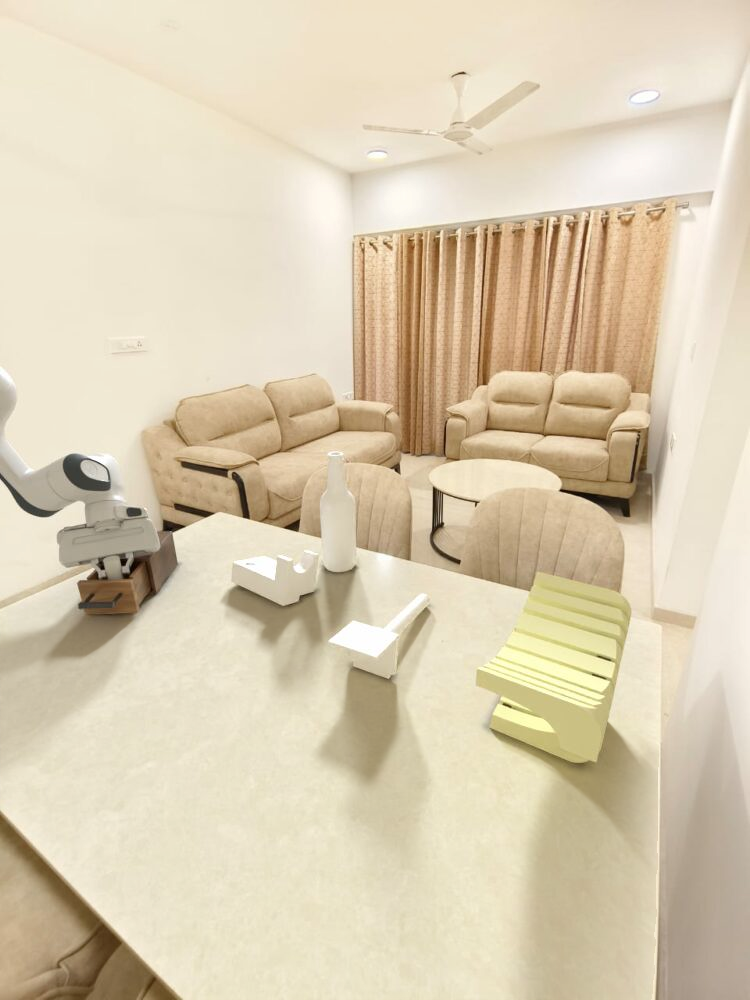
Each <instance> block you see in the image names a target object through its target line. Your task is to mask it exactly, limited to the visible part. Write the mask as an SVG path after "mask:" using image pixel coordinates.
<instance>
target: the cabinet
mask: <svg viewBox="0 0 750 1000" xmlns="http://www.w3.org/2000/svg"><path fill="white" fill-rule="evenodd" d="M157 534H158V538H159V542H160V548H159V550H158V551H156V552H151V553H145V554H140V555H135V556H134V561H147V565H148V570H149V575H150V579H151V584H152V588H151V590H150V591H149V592H148V594H147V595H157V594H158V593H159V592H160V590H161V589H162V587H163V586H164V585H165V583H166V582H167V580H168V579H169V578H170V576H172V573H173V572H174V571H175V569H176V568H177V566H178V565H179V562H178V556H177V550H176V544H175V540H174V535H173V530H166V531H165V530H163V531H162V530H161V531H157ZM102 562H103V561H102ZM102 562H100V564H101V563H102ZM120 562H127V559H126V557H124V558H120Z"/></svg>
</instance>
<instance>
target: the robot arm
mask: <svg viewBox="0 0 750 1000" xmlns="http://www.w3.org/2000/svg"><path fill="white" fill-rule="evenodd" d="M17 402H18V389H17V386H16V384H15V382H14V380H13V379H12V377H11V376H10V375H9V373H8V372H7V371H6V370H5V369H4V368H3V367H2V366H1V365H0V481H1V482H2V484H4V486H5V487H6V488H7V489H8V491H9V492H10V494H11V496H12V498H13V499H14V501H15V503H16V504H17V505H18V506H19V508H20V509H21V510H22V511H24V512H25V513H27V514H28V515H31V516H34V517H38V518H49V517H52V516H54V515H56V514H57V513H59V512H60V511H62V510H64V509H65V508H67V507H69V506H71V505H73V504H75V503H77V502H78V501H79V502H82V503H84V517H85V523H81V524H76V525H69V526H63V528H61V529H60V530H59V531H58V532H57V533H56V543H57V545H58V546H59V547H58V561H59V563H60V565H62V566H63V567H65V568H66V569H68V568H75V567H79V566H80V567H81V566H85V565H91V567H92V568H93V569H94V570H96V571H97V572H98V575H99V580H106V579H107V575H106V571H105V570H101V569H100V568H99V567H98V566H100V562H102V561H103V560H104V559H105V558H106V557H109V556H114V555H116V556H119V558H124V557H126V559H127V563H126V565H125V566H122V574H123V576H125V575H130V567H131V565H132V563H133V561H134V556H135V555H140V554H145V553H151V552H156V551H158V550H159V548H160V542H159V538H158V534H157V532H158V531H157V529H156V526H155V524H154V522H153V521H152V519H151V516H150V512H149V511H148V510H147V508H146V507H141V506H140V507H139V506H132V505H131V506H130V505H128V503H127V501H126V500H125V499H126V498H125V493H126V486H125V479H124V476H123V473H122V470H121V467H120V465H119V463H118V461H117V459H116V458H114V456H111V455H110V454H107V453H99V452H98V453H97V452H96V453H91V454H88V455H85V454H81V453H76V452H75V453H74V452H73V453H70V454H67V455H65V456H62V457H60V458H58V459H56V460H54V461H52V462H51V463H50V464H49V463H48V465H45V466H43V467H42V468H40V469H38V470H37V469H36V470H35V469H32V468H31V467H29V466H28V464H27V463H26V462H25V461H24V460H23V459H22V457H21V456H20V454H19V453H18V452H17V451H16V449H15V448H14V447H13V446H12V445H11V444H10V442H9V440H8V438H7V437H6V433H5V428H6V424H7V422H8V421H9V419H10V417H11V415H12V414H13V412H14V410H15V408H16V406H17Z"/></svg>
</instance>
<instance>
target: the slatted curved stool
mask: <svg viewBox="0 0 750 1000" xmlns="http://www.w3.org/2000/svg"><path fill="white" fill-rule="evenodd" d="M631 617H632V607H631V605H630V602H629V601H628V599H627V598H626V597H625V596H624V595H622V594H621V593H620V592H618V591H616V590H613V589H609V588H606V587H601V586H599V585H594V584H590V583H585V582H581V581H577V580H573V579H570V578H565V577H562V576H557V575H553V574H549V573H545V572H541V571H537V572H536V574H535V577H534V580H533V585H531V588H530V591H529V593H528V598H527V599H526V600H525V604H524V605H523V608H522V611H521V613H520V615H519V617H518V620H517V621H516V623H515V626H514V630H512V631H511V634H509V637H508V639H507V640H506V642H505V644H504V645H503V646H502V647H501V649H500V650H499V651H498V653H496V655H495V657H493V658H492V659H491V660H489V662H486V663H485V664H483V666H479V667H477V668H476V674H475V686H476V687H479V688H482V689H484V690H487V691H489V692H492V693H494V694H496V695H499V696H501V697H500V699H499V703H497V705H496V706H495V708H494V710H493V712H492V715H491V719H490V723H489V727H488V728H490V729H492V730H494V731H496V732H498V733H501V734H503V735H506V736H509V737H511V738H513V739H515V740H517V741H519V742H523V743H525V744H527V745H530V746H531V747H534V748H537V749H539V750H542V751H544V752H546V753H548V754H551V755H553V756H556V757H558V758H560V759H563V760H565V761H567V762H570V763H574V764H581V763H582V764H583V763H587V762H589V761H591V762H594V763H596V764H597V763H598V758H599V754H600V752H601V750H602V746H603V742H604V738H605V733H606V730H607V725H608V721H609V717H610V712H611V709H612V704H613V700H614V695H615V691H616V685H617V681H618V676H619V671H620V668H621V667H620V666H621V662H622V658H623V654H624V648H625V645H626V641H627V637H628V632H629V629H630V628H629V627H630V622H631Z"/></svg>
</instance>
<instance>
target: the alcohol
mask: <svg viewBox="0 0 750 1000" xmlns="http://www.w3.org/2000/svg"><path fill="white" fill-rule="evenodd" d="M344 456H345V454H344V453H343V452H341V451H329V452H327V454H326V457H327V459H326V461H327V477H326V478H327V482H326V489H325V491H324V492H323V493H322V494H321V497H320V500H319V518H320V519H319V520H320V534H321V535H320V536H321V550H322V551H321V552H322V553H321V554H322V555H321V556H322V564H323V566H324V568H325V569H326V570H327V571H330V572H333V573H345V572H349V571H350V570H352V569H354V568H355V567H356V565H357V563H358V553H357V552H358V551H357V521H356V520H357V519H356V500H355V497H354V495H353V493H352V492H351V491H350V490H349V489H348V486H347V481H346V480H347V479H346V470H345V458H344Z"/></svg>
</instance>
